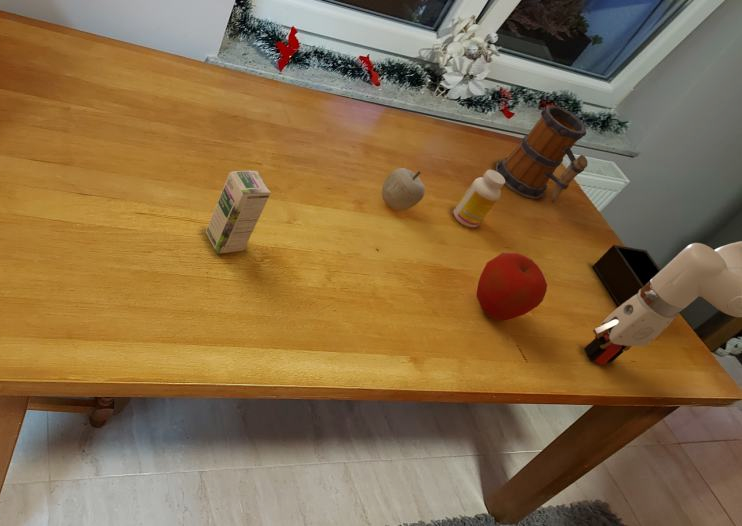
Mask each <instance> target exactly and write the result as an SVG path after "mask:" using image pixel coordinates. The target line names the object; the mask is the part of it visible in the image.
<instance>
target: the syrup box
mask: <svg viewBox="0 0 742 526" xmlns="http://www.w3.org/2000/svg"><path fill="white" fill-rule="evenodd" d="M271 193H272V192H271V190H270V189H269V188H268V186H267V185H266V183H265V181H264V179H263V178H262V176H261V175H260V173H259V172H258V170H234V171H230V172H229V173H228V176H227V178H226V180H225V183H224V185H223V188H222V190H221V193H220V195H219V198H218V200H217V203H216V205H215V207H214V209H213V212H212V214H211V217H210V220H209V222H208V224H207V226H206V229H205V234H206V235H207V237H208V240H209V242H210V244H211V246H212V247H213V249H214V251H215V252H216V254H218V255H220V254H227V253H236V252H242V251H244V250H245V249H246V246H247V244H248V242H249V240H250V238H251V236H252V233H253V232H254V230H255V229H256V225H257V223H258V221H259V219H260V217H261V214H262V213H263V212H264V211H263V210H264V208H265V206H266V204H267V202H268V200H269V198H270V196H271Z"/></svg>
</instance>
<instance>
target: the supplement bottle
mask: <svg viewBox="0 0 742 526" xmlns="http://www.w3.org/2000/svg"><path fill="white" fill-rule="evenodd" d="M504 183H505V179H504V177H503V176H502V175H501V174H500V173H498V172H496V171H495V170H494V169H487V170H486V171H485V172H484V174H483V176H481V177H480V176H479V177H477V178H476V179H474V180H473V182H472V183H471V185H470V186H469V187H468V189H467V190H466V191H465V193H464V195H462V197H461V199H459V201H458V202H457V204H456V205H455V207H454V209H453V215H454V218H455V219H456V220H457V221H458V222H459V223H460V224H461V225H463V226H465V227H467V228H476V227H478V226H479V225H480V224H481V223H482V221H483V220H484V219H485V217H486V216H487V215H488V213H489V212H490V210H491V209H493V207H494V206H495V204H496V203H497V201H498V200H499V199H500V198H501V194H502V191H501V188H502V187H503V186H504V185H505V184H504Z"/></svg>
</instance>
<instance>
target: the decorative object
mask: <svg viewBox="0 0 742 526" xmlns="http://www.w3.org/2000/svg"><path fill="white" fill-rule="evenodd" d="M421 173H422V171H421V170H418V171H417V172H416V173H414V172H413V171H412V170H410V169H408V168H405V167H399V168H395V169H393V170H392V171H391V172H390V173H389V174H388V175H387V177H386V178H385V180H384V182H383V185H382V188H381V197H382V199H383V201H384V203H385V204H386V205H387V207H389V208H390V209H392V210H395V211H406V210H408V209H411V208H413V207H415V206H417V204H419V203H420V202H421V201H422V200H423V198H424V197H425V194H426V193H425V192H426V187H425V184H424V183H423V181H422V180H421V179H420V177H419V175H420V174H421Z"/></svg>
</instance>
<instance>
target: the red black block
mask: <svg viewBox="0 0 742 526" xmlns="http://www.w3.org/2000/svg"><path fill="white" fill-rule="evenodd" d="M604 337H605V341H607V340H608V339H609V337H608V336H607V334H606V335H605V336H604ZM605 349H606V351H605V352H604V353H603V354H601V355H600V356H599V357H598V358H597V359H596V360H595V361H594V362H595V363H596V364H598V365H605V364H606V363H607V362H608V360H609V359H610V358H612V357H613V356H614V355H615V354H616V353H617V352H619V351H620V350H621V349H622V345H617V344H613V343H612V344H611V345H609V346H608V347H606V348H605Z"/></svg>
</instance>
